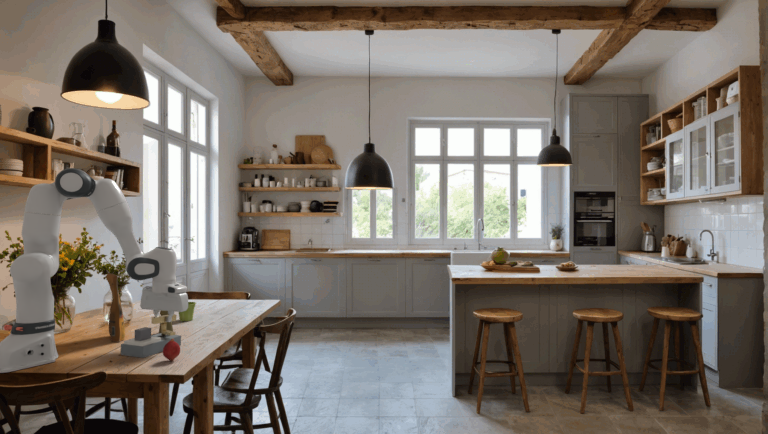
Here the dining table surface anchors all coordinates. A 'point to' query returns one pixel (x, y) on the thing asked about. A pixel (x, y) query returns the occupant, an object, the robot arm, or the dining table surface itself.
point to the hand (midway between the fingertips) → (163, 321)
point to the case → (149, 346)
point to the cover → (142, 337)
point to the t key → (163, 324)
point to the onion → (171, 350)
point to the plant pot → (187, 312)
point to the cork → (168, 324)
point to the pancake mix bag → (115, 312)
